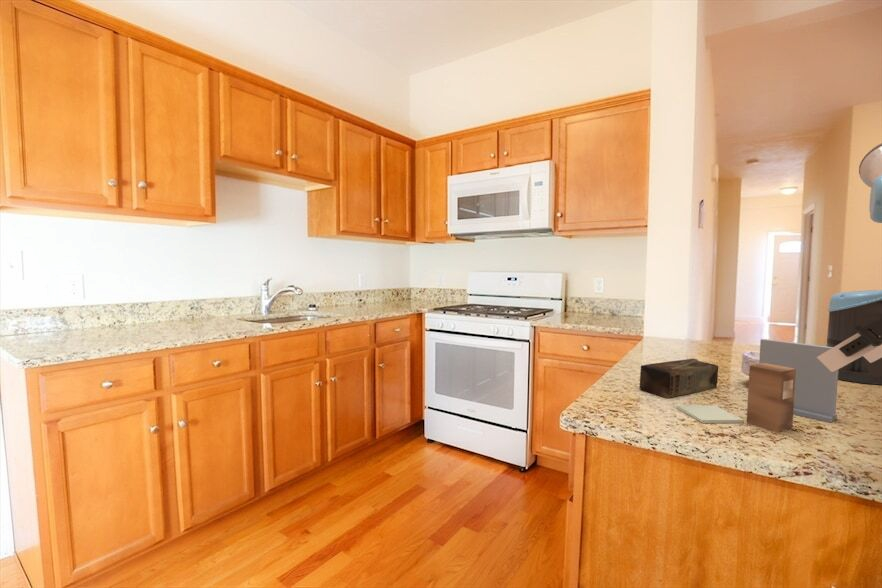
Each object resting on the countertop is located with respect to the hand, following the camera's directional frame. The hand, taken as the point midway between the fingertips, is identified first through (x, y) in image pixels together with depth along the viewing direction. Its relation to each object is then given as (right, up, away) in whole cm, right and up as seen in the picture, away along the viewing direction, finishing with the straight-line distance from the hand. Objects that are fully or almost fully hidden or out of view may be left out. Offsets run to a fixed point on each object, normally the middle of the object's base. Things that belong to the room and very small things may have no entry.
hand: (845, 360), depth 65 cm
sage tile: (-12, -13, +15) cm, 24 cm away
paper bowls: (+17, -13, +32) cm, 38 cm away
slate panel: (+7, -13, +17) cm, 23 cm away
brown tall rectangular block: (-4, -14, +10) cm, 18 cm away
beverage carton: (-8, -13, +33) cm, 36 cm away
